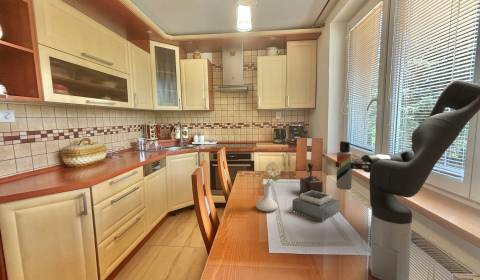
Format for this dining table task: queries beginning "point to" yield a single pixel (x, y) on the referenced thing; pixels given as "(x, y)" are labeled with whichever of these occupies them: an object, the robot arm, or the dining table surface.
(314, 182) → the bronze sculpture
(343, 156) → the lotion bottle
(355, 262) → the dining table surface
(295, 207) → the gray square holder
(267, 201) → the flower in vase
